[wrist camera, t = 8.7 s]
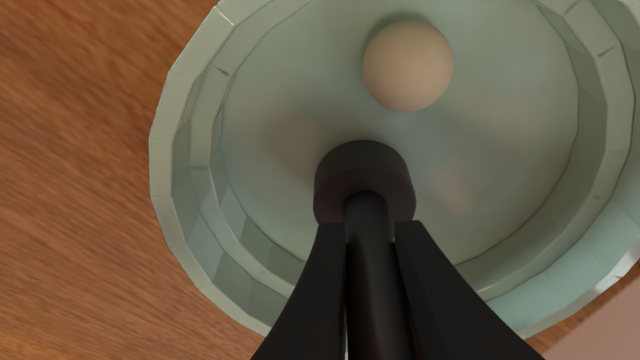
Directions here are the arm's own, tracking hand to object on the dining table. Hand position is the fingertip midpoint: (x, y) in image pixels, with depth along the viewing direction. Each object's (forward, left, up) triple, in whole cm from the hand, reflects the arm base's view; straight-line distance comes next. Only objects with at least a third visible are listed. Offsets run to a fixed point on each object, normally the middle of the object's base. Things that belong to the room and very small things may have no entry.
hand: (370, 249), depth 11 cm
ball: (-1, -4, -3) cm, 5 cm away
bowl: (-1, -1, -5) cm, 5 cm away
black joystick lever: (0, 0, -3) cm, 3 cm away
